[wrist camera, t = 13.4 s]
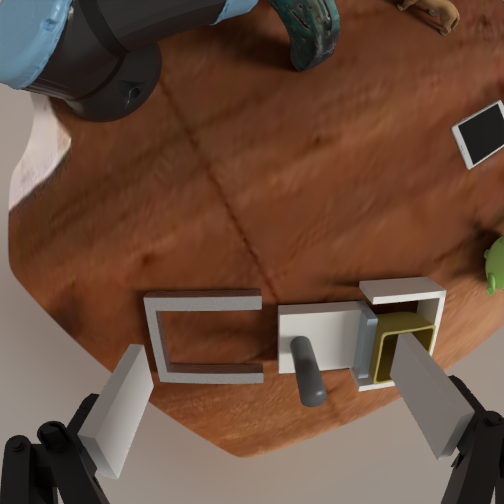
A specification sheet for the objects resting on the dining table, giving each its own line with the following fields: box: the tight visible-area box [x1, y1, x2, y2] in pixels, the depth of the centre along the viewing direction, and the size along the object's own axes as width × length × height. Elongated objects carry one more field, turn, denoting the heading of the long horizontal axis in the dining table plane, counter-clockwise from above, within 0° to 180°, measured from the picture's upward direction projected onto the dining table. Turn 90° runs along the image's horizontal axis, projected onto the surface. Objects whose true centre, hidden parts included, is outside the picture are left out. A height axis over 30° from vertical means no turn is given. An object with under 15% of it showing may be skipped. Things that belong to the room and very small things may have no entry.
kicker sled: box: [278, 301, 378, 407], centre depth 39 cm, size 13×10×15 cm
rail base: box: [144, 289, 263, 384], centre depth 45 cm, size 16×15×2 cm
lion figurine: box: [397, 0, 460, 36], centre depth 28 cm, size 15×5×9 cm, turn 79°
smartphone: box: [451, 100, 504, 170], centre depth 38 cm, size 8×1×15 cm
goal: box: [349, 277, 446, 391], centre depth 44 cm, size 12×16×6 cm
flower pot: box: [369, 312, 436, 385], centre depth 42 cm, size 9×9×9 cm
